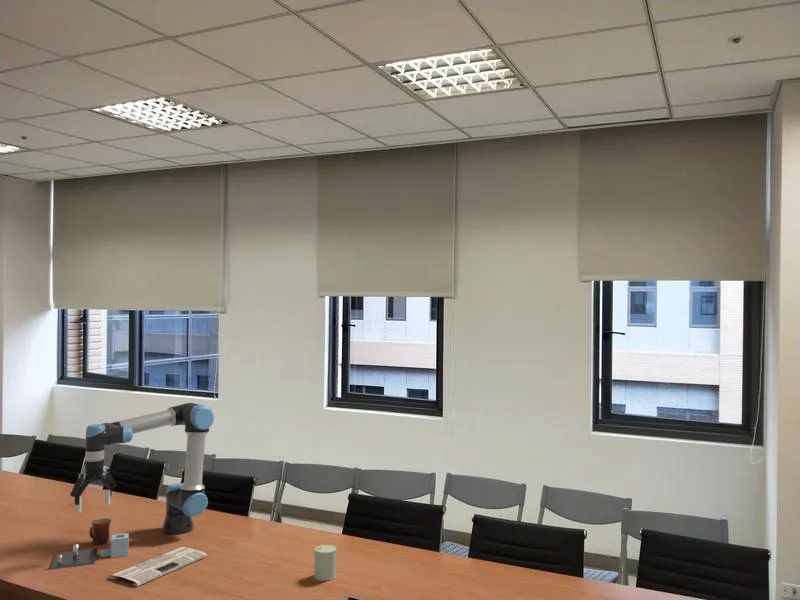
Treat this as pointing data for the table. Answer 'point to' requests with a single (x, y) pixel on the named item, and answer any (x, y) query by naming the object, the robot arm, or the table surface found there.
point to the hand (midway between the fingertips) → (93, 508)
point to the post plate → (76, 561)
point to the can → (325, 562)
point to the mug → (100, 531)
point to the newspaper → (160, 565)
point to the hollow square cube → (117, 546)
